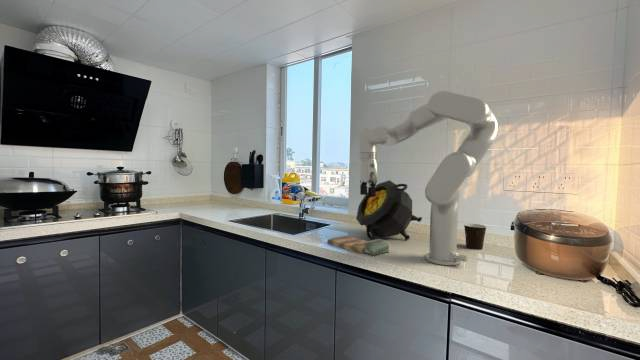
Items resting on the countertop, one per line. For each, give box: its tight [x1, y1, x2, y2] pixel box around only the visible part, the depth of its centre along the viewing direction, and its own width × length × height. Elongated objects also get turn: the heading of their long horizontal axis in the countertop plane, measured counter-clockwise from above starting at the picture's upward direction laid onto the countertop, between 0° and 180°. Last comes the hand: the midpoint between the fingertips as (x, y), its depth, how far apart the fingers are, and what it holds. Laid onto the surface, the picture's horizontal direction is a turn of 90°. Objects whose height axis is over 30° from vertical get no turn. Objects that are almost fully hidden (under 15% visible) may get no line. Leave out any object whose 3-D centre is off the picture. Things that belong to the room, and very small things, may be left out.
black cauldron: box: [356, 179, 423, 241], centre depth 142 cm, size 28×28×24 cm
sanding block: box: [364, 238, 390, 257], centre depth 117 cm, size 5×9×5 cm, turn 127°
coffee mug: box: [464, 223, 487, 251], centre depth 125 cm, size 12×9×10 cm
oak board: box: [327, 235, 368, 255], centre depth 127 cm, size 20×12×2 cm, turn 41°
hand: (367, 195), depth 126 cm, fingers open, 9 cm apart
